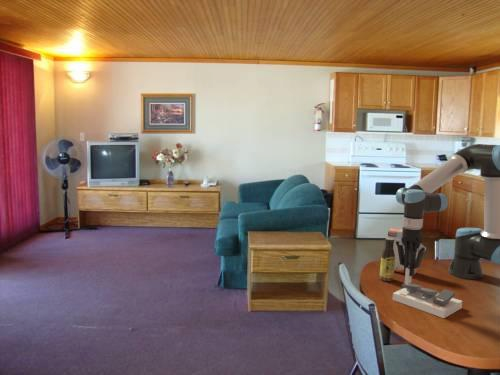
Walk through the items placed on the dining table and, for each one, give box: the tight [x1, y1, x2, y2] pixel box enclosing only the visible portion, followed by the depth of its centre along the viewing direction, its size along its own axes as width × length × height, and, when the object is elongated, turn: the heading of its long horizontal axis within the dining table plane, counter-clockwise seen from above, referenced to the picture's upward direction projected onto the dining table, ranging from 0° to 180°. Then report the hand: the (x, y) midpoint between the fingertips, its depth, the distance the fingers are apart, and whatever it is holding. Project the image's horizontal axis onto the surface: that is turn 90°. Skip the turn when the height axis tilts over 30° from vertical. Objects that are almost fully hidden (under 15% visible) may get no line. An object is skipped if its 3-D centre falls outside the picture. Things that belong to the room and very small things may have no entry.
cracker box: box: [387, 227, 419, 276], centre depth 216 cm, size 14×6×21 cm, turn 58°
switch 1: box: [401, 282, 423, 290], centre depth 184 cm, size 9×4×2 cm, turn 131°
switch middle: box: [417, 287, 439, 295], centre depth 179 cm, size 9×4×2 cm, turn 131°
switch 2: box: [433, 288, 456, 306], centre depth 173 cm, size 9×4×2 cm, turn 130°
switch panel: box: [392, 287, 463, 319], centre depth 179 cm, size 15×22×4 cm
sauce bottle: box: [379, 237, 395, 282], centre depth 205 cm, size 6×6×20 cm
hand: (408, 282), depth 182 cm, fingers closed
